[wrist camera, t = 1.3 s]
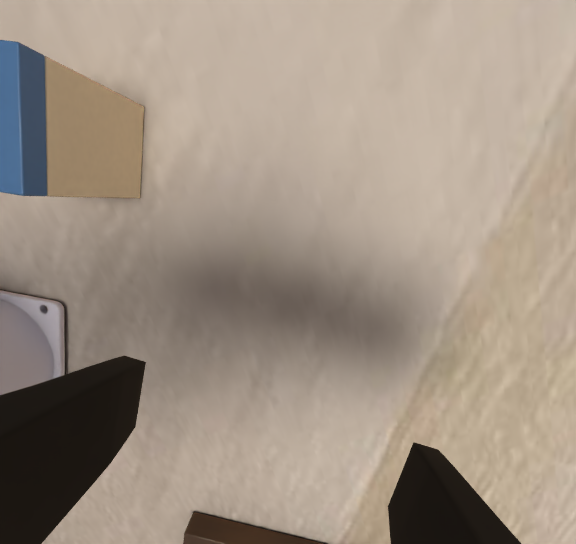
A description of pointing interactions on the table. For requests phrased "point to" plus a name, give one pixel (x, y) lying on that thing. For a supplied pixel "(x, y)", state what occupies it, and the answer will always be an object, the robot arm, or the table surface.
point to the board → (233, 533)
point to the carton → (64, 131)
